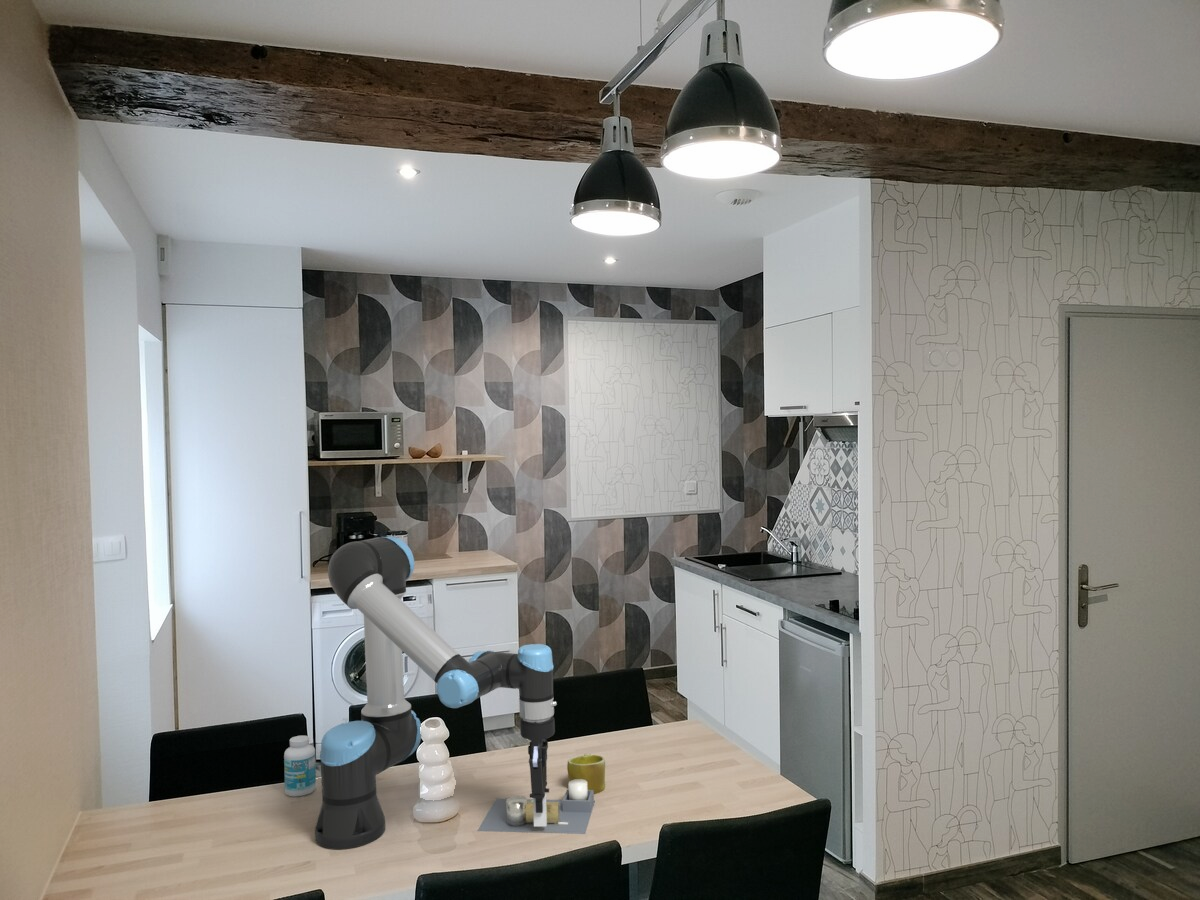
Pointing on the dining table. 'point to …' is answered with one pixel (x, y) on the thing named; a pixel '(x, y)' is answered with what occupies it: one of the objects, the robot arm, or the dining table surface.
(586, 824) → the board
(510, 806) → the grey and tan piece
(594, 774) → the mug
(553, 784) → the dining table surface
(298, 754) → the pill bottle
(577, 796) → the button
